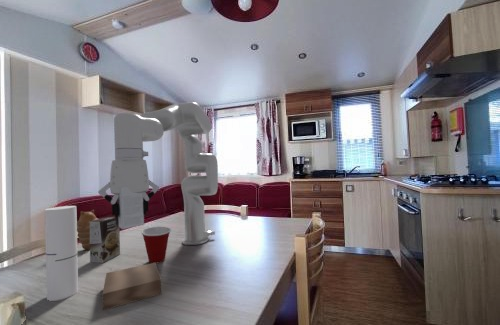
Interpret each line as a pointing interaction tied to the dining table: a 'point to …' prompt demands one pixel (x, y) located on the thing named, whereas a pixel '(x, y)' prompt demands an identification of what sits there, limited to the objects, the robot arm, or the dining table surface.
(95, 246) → the coffee box
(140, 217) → the skincare box
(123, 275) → the walnut base
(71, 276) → the cylindrical container
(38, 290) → the dining table surface
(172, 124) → the robot arm
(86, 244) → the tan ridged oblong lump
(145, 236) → the plastic cup
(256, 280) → the dining table surface
